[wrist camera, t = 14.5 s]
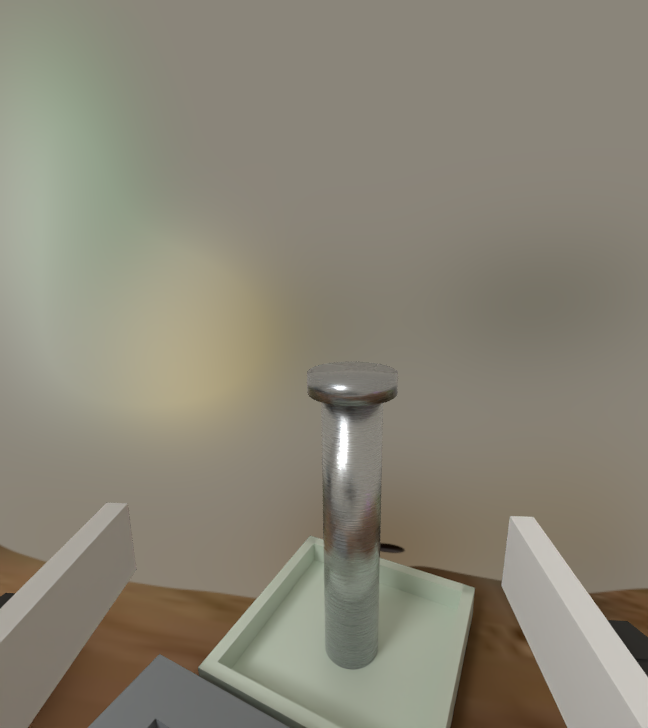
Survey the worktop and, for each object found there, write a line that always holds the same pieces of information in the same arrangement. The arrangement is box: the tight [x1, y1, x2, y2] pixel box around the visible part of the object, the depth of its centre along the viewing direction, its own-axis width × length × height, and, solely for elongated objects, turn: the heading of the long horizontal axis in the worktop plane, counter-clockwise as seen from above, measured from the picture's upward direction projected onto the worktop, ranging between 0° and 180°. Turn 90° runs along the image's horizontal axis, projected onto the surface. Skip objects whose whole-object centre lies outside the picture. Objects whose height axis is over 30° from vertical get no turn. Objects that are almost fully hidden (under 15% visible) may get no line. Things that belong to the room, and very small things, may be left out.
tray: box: [198, 536, 475, 728], centre depth 28 cm, size 14×14×2 cm
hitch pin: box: [307, 362, 398, 670], centre depth 26 cm, size 5×5×19 cm
